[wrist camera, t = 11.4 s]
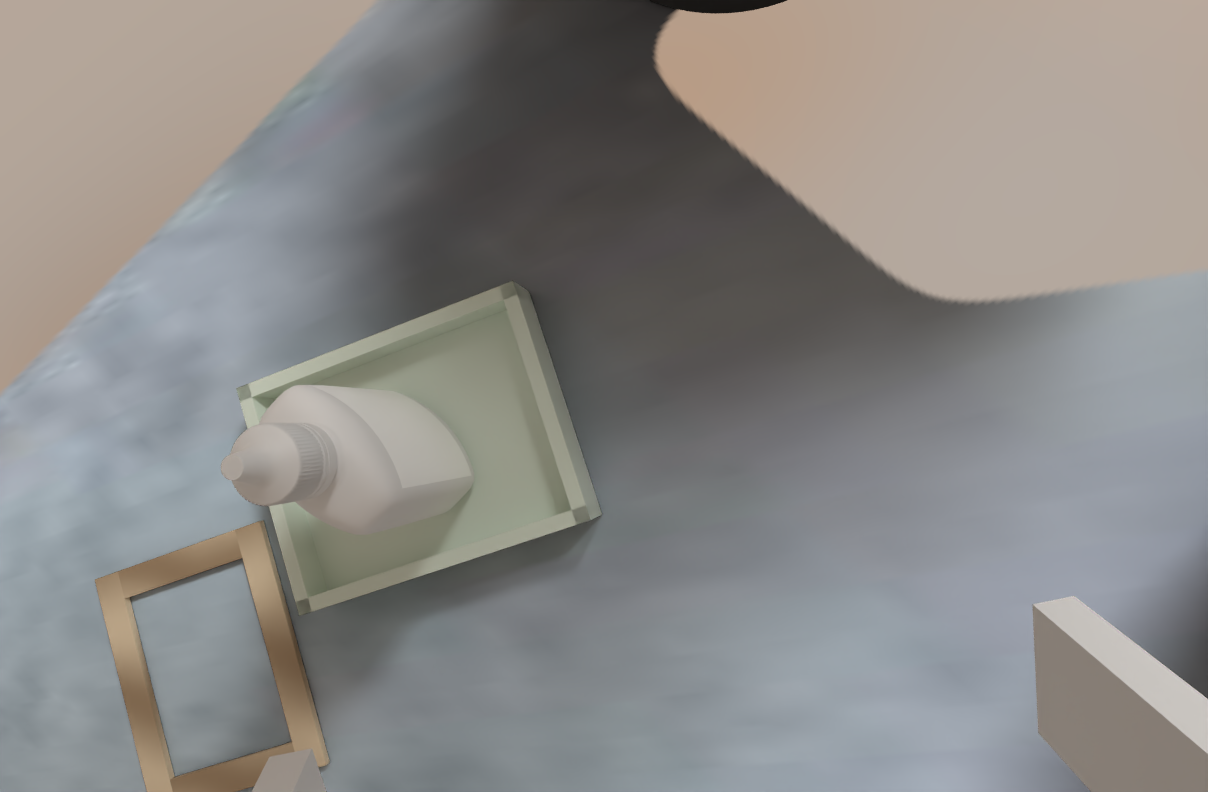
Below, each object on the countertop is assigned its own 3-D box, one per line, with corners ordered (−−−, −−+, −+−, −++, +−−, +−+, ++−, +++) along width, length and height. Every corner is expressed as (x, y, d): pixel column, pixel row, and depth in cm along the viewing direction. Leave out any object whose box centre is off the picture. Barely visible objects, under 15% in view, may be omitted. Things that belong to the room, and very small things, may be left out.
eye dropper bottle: (449, 372, 33) (276, 345, 21) (485, 501, 32) (327, 547, 20) (358, 402, 33) (142, 392, 22) (391, 528, 33) (188, 587, 21)
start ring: (99, 578, 36) (94, 579, 36) (263, 520, 35) (259, 521, 35) (157, 812, 35) (152, 815, 35) (330, 762, 34) (326, 765, 33)
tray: (269, 391, 35) (236, 388, 33) (529, 291, 33) (512, 280, 31) (329, 604, 34) (299, 616, 32) (602, 514, 32) (590, 520, 30)
